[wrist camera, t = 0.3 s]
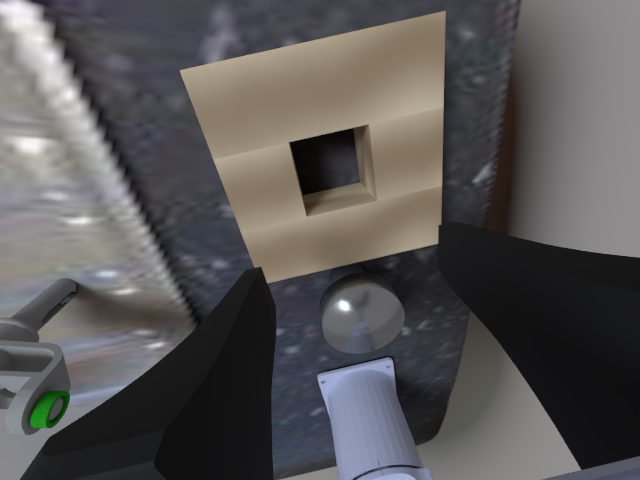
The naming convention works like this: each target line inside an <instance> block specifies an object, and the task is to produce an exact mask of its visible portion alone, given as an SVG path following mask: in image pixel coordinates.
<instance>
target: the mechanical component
mask: <svg viewBox="0 0 640 480" xmlns="http://www.w3.org/2000/svg"><path fill="white" fill-rule="evenodd" d="M71 291H72V292H75V291H76V283H75V282H74V281H72V280H69V279H60V280H58V281H56V282H55V283H54V284H53V285H51V286H50V287H49V288H48V289H46V290H45V291H44V292H43V293H41V294H40V295H39V296H38V297H36V298H35V299H34V300H33V301H31V302H30V303H29V304H28V305H26V306H25V307H24V308H23V309H21V310H20V311H19V312H18V313H16V314H15V315H14V316H13V317H11V318H0V409H8V412H7V415H6V420H5V424H6V428H7V431H8V432H9V434H11V435H31V434H34V433H36V432H37V431H38V430H40V429H41V428H52V427H53V426H55V425H56V424H57V423H58V422H59V421H60V419H61V418H62V416H63V414H64V413H65V411H66V409H67V407H68V404H69V399H70V394H69V390H70V385H71V384H70V380H69V376H68V372H67V368H66V364H65V360H64V356H63V352H62V349H61V348H60V347H59V346H58V345H55V344H50V343H38V342H39V335H38V333H37V331H38V330H39V329H41V328H42V327H43V326H44V325H45V324H46V323H47V322H48V321H49V320H50V319H51V318H52V317H53V316H54V315H55V314H57V313H58V312H59V311H60V310H61V309H62V308H63V307H64V306H65V305H66V304H67V303H68V302H69V301H70V300H71V299H73V298H74V297H75V296H76V295H77V294H74V293H70V292H71ZM6 388H12V389H15V390H17V391H18V393H12V392H10V391H8V390H7V389H6Z"/></svg>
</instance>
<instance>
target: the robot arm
mask: <svg viewBox="0 0 640 480" xmlns="http://www.w3.org/2000/svg"><path fill="white" fill-rule="evenodd" d="M438 268H439V270H440V271H441V273H442V275H443V276H444V278H445V279H446V281H447V282H448V284H449V285H450V287H451V288H452V289H453V290H454V291H455V293H456V294H457V295H458V296H459V297H460V298H461V299H462V301H463V302H464V303H465V304H466V305H467V306H468V307H469V308H470V310H471V311H472V312H473V313H474V314H475V315H476V316H477V317H478V318H479V320H480V321H481V322H482V323H483V324H484V325H485V326H486V327H487V328H488V330H489V331H490V332H491V333H492V334H493V336H494V337H495V338H496V339H497V341H498V342H499V343H500V344H501V346H502V347H503V349H504V350H505V352H506V353H507V354H508V356H509V357H510V358H511V360H512V361H513V363H514V364H515V365H516V367H517V368H518V370H519V371H520V373H521V374H522V376H523V377H524V378H525V380H526V381H527V383H528V384H529V386H530V387H531V389H532V390H533V392H534V393H535V395H536V396H537V398H538V399H539V401H540V402H541V404H542V406H543V407H544V409H545V410H546V412H547V413H548V415H549V417H550V418H551V420H552V421H553V423H554V425H555V426H556V428H557V429H558V431H559V433H560V434H561V436H562V437H563V439H564V441H565V443H566V444H567V446H568V448H569V449H570V451H571V453H572V454H573V456H574V458H575V459H576V461H577V463H578V465H579V466H580V468H581V470H580V471H576V472H572V473H568V474H563V475H559V476H555V477H551V478H547V479H543V480H640V258H637V257H628V256H618V255H610V254H601V253H594V252H587V251H581V250H575V249H568V248H562V247H557V246H552V245H547V244H542V243H538V242H533V241H529V240H524V239H520V238H516V237H512V236H509V235H505V234H501V233H497V232H494V231H490V230H486V229H483V228H479V227H475V226H471V225H467V224H463V223H458V222H450V223H446V224H442V225H438ZM275 340H276V307H275V303H274V300H273V298H272V295H271V292H270V289H269V287H268V284H267V281H266V278H265V276H264V273H263V270H262V267H257V268H252V269H248V270H246V271H245V272H244V273H243V274H242V275H241V277H240V278H239V279H238V280H237V282H236V283H235V284H234V285H233V287H232V288H231V289H230V290H229V292H228V293H227V294H226V295H225V296H224V298H223V299H222V300H221V301H220V303H219V304H218V305H217V306H216V307H215V308H214V309H213V310H212V312H211V313H210V314H209V315H208V316H207V317H206V318H205V319H204V321H203V322H202V323H201V324H200V325H199V326H198V327H197V328H196V329H195V330H194V331H193V332H192V333H191V334H190V335H189V336H188V337H187V338H185V339H184V340H183V341H182V342H181V343H180V344H179V345H178V346H177V347H176V348H175V349H173V350H172V351H171V352H170V353H169V354H167V355H166V356H165V357H164V358H163V359H161V360H160V361H159V362H158V363H157V364H155V365H154V366H153V367H152V368H151V369H149V370H148V371H147V372H145V373H144V374H143V375H142V376H140V377H139V378H138V379H136V380H135V381H134V382H132V383H131V384H129V385H128V386H127V387H125V388H124V389H122V390H121V391H120V392H118V393H117V394H115V395H114V396H113V397H111V398H110V399H108V400H107V401H105V402H104V403H102V404H101V405H99V406H98V407H96V408H95V409H93V410H92V411H90V412H89V413H87V414H85V415H84V416H82V417H81V418H79V419H78V420H76V421H75V422H73V423H71V424H70V425H68V426H67V427H65V428H64V429H62V430H60V431H59V432H57V433H56V434H54V435H52V436H51V437H49V439H48V440H47V441H46V443H45V444H44V446H43V447H42V448H41V450H40V451H39V453H38V454H37V456H36V457H35V459H34V460H33V461H32V463H31V464H30V466H29V467H28V469H27V470H26V472H25V473H24V474H23V476H22V477H21V479H20V480H273V459H272V425H271V387H272V374H273V363H274V352H275ZM317 377H318V382H319V385H320V388H321V391H322V394H323V398H324V401H325V404H326V407H327V410H328V413H329V416H330V419H331V426H332V433H333V440H334V447H335V454H336V461H337V468H338V475H339V480H434V479H433V477H432V474H431V472H430V469H429V468H428V467H426V468H424V467H423V464H422V462H421V459H420V457H419V454H418V451H417V448H416V446H415V443H414V440H413V438H412V435H411V432H410V430H409V427H408V424H407V422H406V419H405V416H404V414H403V411H402V408H401V406H400V403H399V401H398V398H397V394H396V384H395V374H394V365H393V360H392V358H389V357H387V358H383V359H379V360H374V361H370V362H366V363H362V364H357V365H353V366H349V367H345V368H340V369H336V370H332V371H328V372H323V373H320V374H319V375H318V376H317Z"/></svg>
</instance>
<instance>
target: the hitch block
mask: <svg viewBox="0 0 640 480" xmlns="http://www.w3.org/2000/svg"><path fill="white" fill-rule="evenodd" d="M444 60H445V11H443V12H438V13H434V14H429V15H425V16H420V17H416V18H412V19H407V20H403V21H398V22H394V23H389V24H385V25H380V26H376V27H371V28H367V29H362V30H358V31H354V32H349V33H345V34H340V35H336V36H331V37H327V38H322V39H318V40H313V41H309V42H304V43H300V44H296V45H291V46H287V47H282V48H278V49H273V50H269V51H264V52H260V53H255V54H251V55H246V56H242V57H237V58H233V59H229V60H224V61H220V62H215V63H211V64H206V65H202V66H197V67H193V68H188V69H184V70H180V73H181V75H182V78H183V81H184V83H185V86H186V88H187V91H188V94H189V96H190V99H191V102H192V104H193V107H194V110H195V112H196V115H197V117H198V120H199V123H200V125H201V128H202V131H203V133H204V136H205V138H206V141H207V144H208V146H209V149H210V152H211V154H212V157H213V160H214V162H215V165H216V167H217V170H218V173H219V175H220V178H221V181H222V183H223V186H224V189H225V191H226V194H227V196H228V199H229V202H230V204H231V207H232V210H233V212H234V215H235V217H236V220H237V223H238V225H239V228H240V231H241V233H242V236H243V239H244V241H245V244H246V246H247V249H248V252H249V254H250V257H251V260H252V262H253V265H254V267H255V268H257V267H262V270H263V273H264V276H265V278H266V281H267V283H270V282H275V281H279V280H283V279H288V278H292V277H296V276H301V275H305V274H309V273H314V272H318V271H322V270H327V269H331V268H335V267H339V266H344V265H348V264H352V263H357V262H361V261H365V260H370V259H374V258H378V257H383V256H387V255H391V254H396V253H400V252H404V251H409V250H413V249H417V248H421V247H426V246H430V245H434V244H438V225H441V213H442V162H443V111H444ZM350 128H353V130H354V138H355V146H356V154H357V161H358V169H359V177H360V182H359V183H355V184H350V185H346V186H342V187H337V188H333V189H328V190H324V191H320V192H315V193H311V194H307V195H302V190H301V186H300V182H299V178H298V174H297V169H296V165H295V161H294V157H293V153H292V149H291V144H290V142H293V141H297V140H302V139H306V138H310V137H315V136H319V135H324V134H328V133H332V132H337V131H341V130H346V129H350Z"/></svg>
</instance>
